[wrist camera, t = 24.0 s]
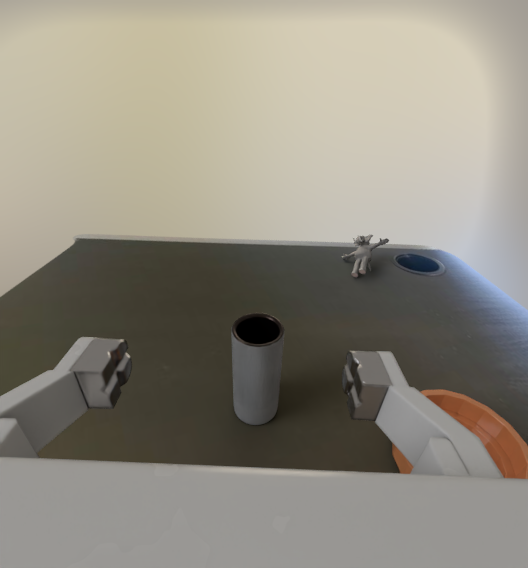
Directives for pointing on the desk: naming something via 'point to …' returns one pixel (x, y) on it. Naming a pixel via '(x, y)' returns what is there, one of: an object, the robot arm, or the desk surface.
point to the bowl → (480, 433)
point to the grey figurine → (363, 254)
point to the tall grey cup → (256, 366)
